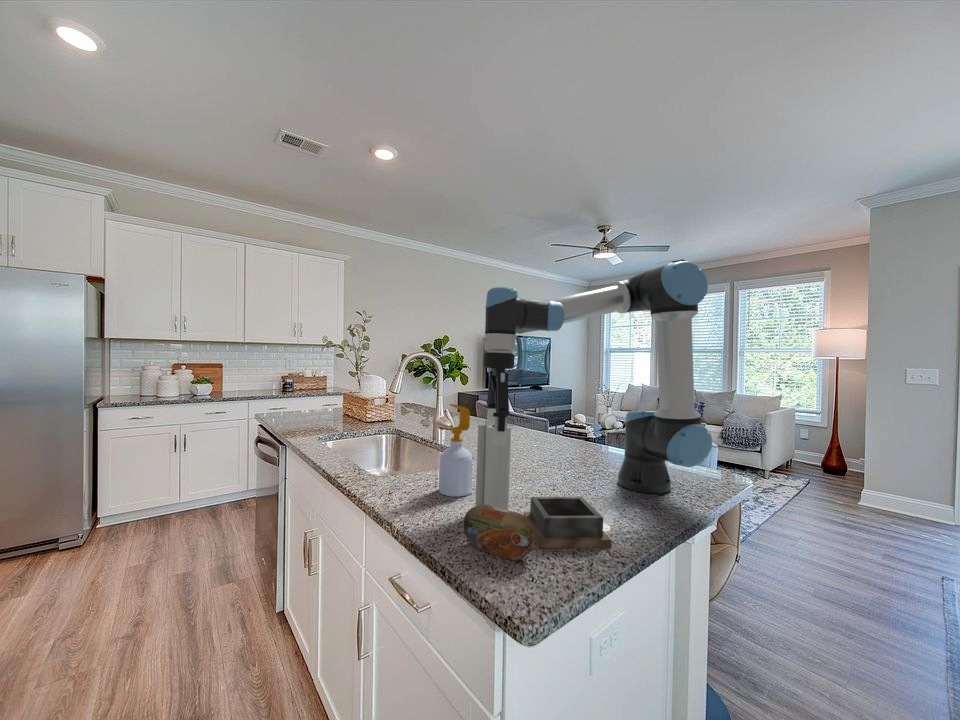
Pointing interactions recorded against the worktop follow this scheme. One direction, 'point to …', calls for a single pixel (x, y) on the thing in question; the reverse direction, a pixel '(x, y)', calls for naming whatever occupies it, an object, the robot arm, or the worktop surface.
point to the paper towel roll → (492, 469)
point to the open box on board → (566, 523)
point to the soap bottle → (456, 461)
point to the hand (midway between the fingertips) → (495, 439)
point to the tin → (499, 532)
